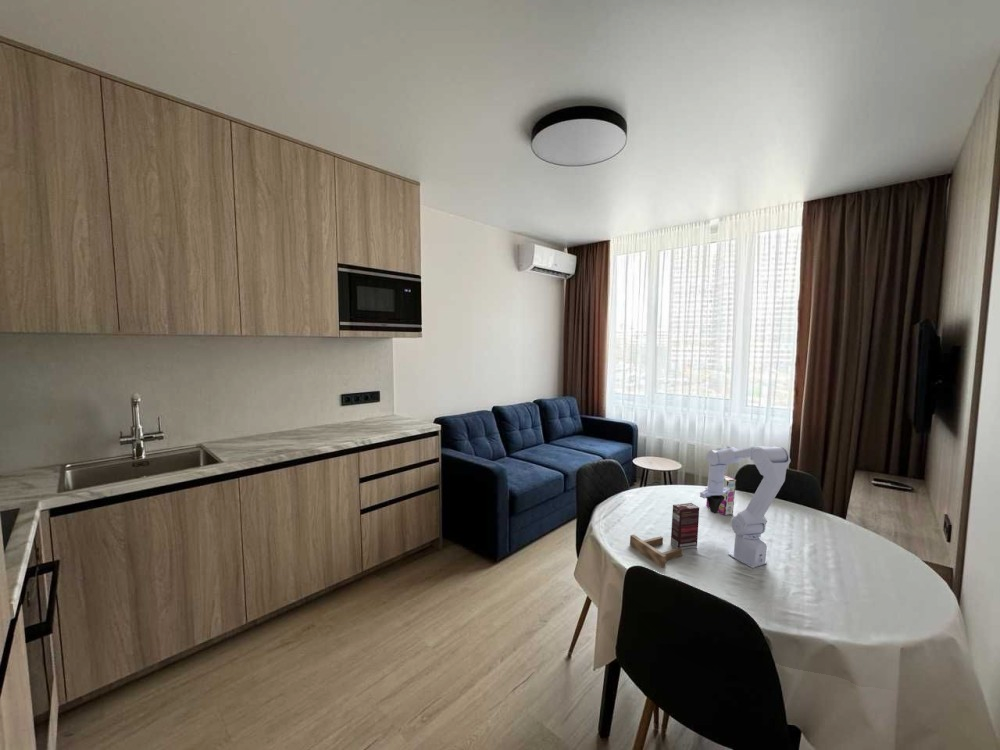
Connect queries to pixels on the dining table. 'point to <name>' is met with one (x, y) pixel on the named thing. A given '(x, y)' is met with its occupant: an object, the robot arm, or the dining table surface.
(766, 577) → the dining table surface
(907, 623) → the dining table surface
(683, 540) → the supplement box
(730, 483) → the candy bar box
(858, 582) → the dining table surface
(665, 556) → the end holder
